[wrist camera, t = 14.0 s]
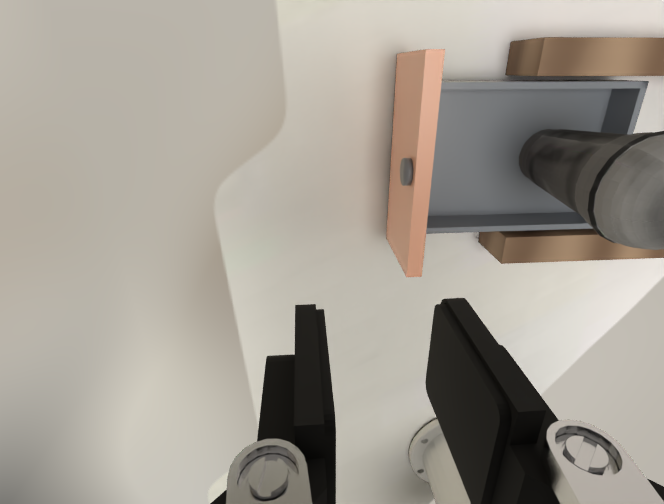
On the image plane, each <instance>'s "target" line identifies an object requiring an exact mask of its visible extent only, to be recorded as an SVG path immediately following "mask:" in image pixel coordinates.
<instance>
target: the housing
mask: <svg viewBox="0 0 664 504" xmlns="http://www.w3.org/2000/svg"><path fill="white" fill-rule="evenodd" d="M506 75H520V76H664V38H564V37H544V38H536V39H528V40H521V41H513V42H511V44H510V50H509V57H508V63H507V69H506ZM478 242H479V243H480V244H481V245H482V246H483V247H484V248H486V249H487V250H488V251H489V252H490V253H491V254H492V255H493V256H494V257H495V258H496V259H497V260H498V261H499V262H500V263H501V264H503V263H530V262H558V261H585V260H613V259H640V258H664V249H660V250H650V249H640V248H632V247H628V246H625V245H622V244H617V243H612V242H610V241H609V240H607V239H605V238H603V237H601V236H599V234H598V233H597V232H596V230H595V229H593V228H592V229H559V230H527V231H494V232H480V235H479V241H478Z"/></svg>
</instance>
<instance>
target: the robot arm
mask: <svg viewBox="0 0 664 504" xmlns="http://www.w3.org/2000/svg"><path fill="white" fill-rule="evenodd" d="M426 390H427V394H428V397H429V399H430V402H431V404H432V407H433V409H434V412H435V414H436V417H437V419H436V420H433V421H432V422H430V423H429V424H427V425H426V426H425V427H423V428H422V429H421V430H420V431H419V432H418V433H417V435H416V436H415V437H414V439H413V441H412V443H411V445H410V449H409V459H410V463H411V466H412V468H413V471H414V472H415V473H416V475H417V476H418V477H419V478H421V479H422V480H424V481H426V482H428V483H430V486H431V489H432V493H433V496H434V499H435V502H436V504H664V487H663V486H661V485H659V484H657V483H655V482H653V481H651V480H649V479H647V478H646V477H645V476H644V474H643V473H642V472H641V470H640V469H639V468H638V466H637V465H636V463H635V462H634V461H633V459H632V458H631V457H630V455H629V454H628V453H627V451H626V450H625V449H624V448H623V447H622V446H621V444H620V443H619V442H618V441H617V440H616V439H614V438H613V437H612V436H610V435H609V434H608V433H606V432H605V431H603V430H601V429H599V428H597V427H595V426H594V425H591V424H588V423H585V422H582V421H577V420H558V419H557V418H556V416H555V415H554V413H553V412H552V411H551V409H550V408H549V407H548V405H547V404H546V403H545V401H544V400H543V399H542V397H541V396H540V394H539V393H538V392H537V390H536V389H535V388H534V386H533V385H532V384H531V382H530V381H529V380H528V378H527V377H526V376H525V374H524V373H523V372H522V370H521V369H520V367H519V366H518V365H517V363H516V362H515V361H514V359H513V358H512V357H511V355H510V354H509V353H508V351H507V350H506V349H505V348H504V347H503V346H502V345H499V344H498V343H497V341H496V340H495V339H494V337H493V336H492V335H491V333H490V332H489V330H488V329H487V328H486V326H485V325H484V324H483V322H482V321H481V319H480V318H479V317H478V315H477V314H476V313H475V311H474V310H473V308H472V307H471V306H470V304H469V303H468V302H467V300H466V299H465V298H453V299H443V300H442V302H441V304H437V305H436V306H435V309H434V317H433V325H432V333H431V342H430V350H429V358H428V366H427V374H426ZM211 504H336V427H335V411H334V401H333V392H332V383H331V373H330V364H329V354H328V345H327V335H326V326H325V316H324V309H319V310H316V304H310V305H295V355H278V356H267V359H266V366H265V375H264V384H263V393H262V402H261V411H260V421H259V430H258V439H257V442H255V443H253V444H251V445H249V446H248V447H246V448H244V449H243V450H242V451H241V452H240V453H239V454H238V455H237V456H236V458H235V459H234V461H233V463H232V464H231V466H230V469H229V474H228V478H227V490H226V491H224V492H223V493H222V494H221V495H220V496H219V497H218V498H216V499H215V500H214V501H213V502H212V503H211Z"/></svg>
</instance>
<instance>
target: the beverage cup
mask: <svg viewBox="0 0 664 504" xmlns="http://www.w3.org/2000/svg"><path fill="white" fill-rule="evenodd" d="M519 166H520V169H521V171H522V173H523V174H524V175H525V176H526V177H528V178H529V179H530V180H531V181H532V182H533V183H535V184H536V185H537V186H539V187H540V188H542V189H543V190H545V191H546V192H548V193H549V194H550V195H552V196H553V197H555V198H556V199H558V200H559V201H561V202H562V203H563V204H565V205H566V206H568V207H569V208H571V209H572V210H574V211H575V212H576V213H578V214H579V215H581V216H582V217H583V218H584V220H585V221H586V222H587V223H588V224H589V225H590V226H591V227H592V228H593V229H595V230H596V232H597V233H598V234H599V236H601V237H603V238H605V239H607V240H609V241H610V242H612V243H617V244H622V245H625V246H628V247H632V248H640V249H650V250H660V249H664V131H661V132H655V133H652V132H651V133H636V134H631V135H628V134H615V133H603V132H591V131H579V130H567V129H558V130H555V129H554V130H553V129H546V130H541V131H539V132H537V133H535V134H533V135H532V136H531V137H530V138H529V139H528V140H527V141H526V142H525V144H524V145H523V147H522V149H521V152H520V155H519Z"/></svg>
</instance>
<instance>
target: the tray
mask: <svg viewBox="0 0 664 504" xmlns="http://www.w3.org/2000/svg"><path fill="white" fill-rule="evenodd" d="M444 53H445V49H425V50H419V51H412V52H405V53H398V54H397V66H396V83H395V100H394V117H393V134H392V151H391V168H390V185H389V202H388V219H387V235H386V238H387V240H388V242H389V244H390V246H391V248H392V250H393V252H394V254H395V256H396V258H397V260H398V262H399V264H400V265H401V267H402V269H403V271H404V273H405V275H406V277H422V267H423V258H424V248H425V238H426V234H429V233H462V232H494V231H527V230H559V229H592V227H591V226H590V225H589V224H588V223H587V222H586V221H585V220H584V218H583V217H582V216H581V215H579V214H578V213H576V212H575V211H574V210H572V209H571V208H569V207H568V206H566V205H565V204H563V203H562V202H561V201H559V200H558V199H556V198H555V197H553V196H552V195H550V194H549V193H548V192H546V191H545V190H543V189H542V188H540V187H539V186H537V185H536V184H535V183H533V182H532V181H531V180H530V179H529V178H528V177H526V176H525V175H524V174H523V173H522V171H521V169H520V166H519V155H520V152H521V149H522V147H523V145H524V144H525V142H526V141H527V140H528V139H529V138H530V137H531V136H532V135H533V134H535V133H537V132H539V131H541V130H546V129H553V130H554V129H555V130H558V129H567V130H579V131H591V132H603V133H615V134H628V135H631V134H633V132H634V129H635V125H636V122H637V119H638V115H639V112H640V109H641V105H642V102H643V99H644V95H645V92H646V89H647V85H648V82H649V81H627V80H472V81H442V73H443V63H444Z"/></svg>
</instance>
